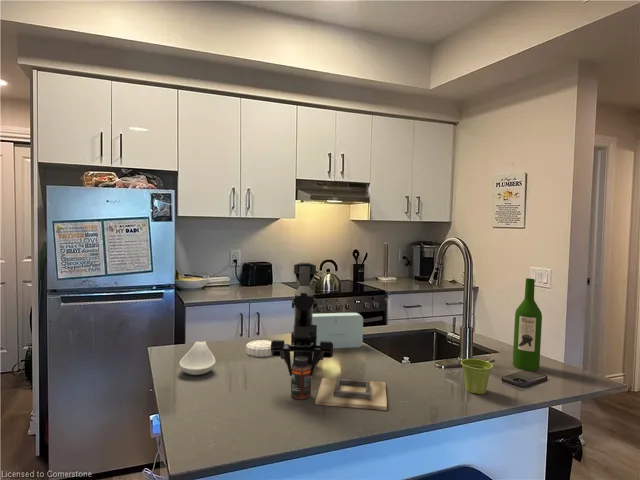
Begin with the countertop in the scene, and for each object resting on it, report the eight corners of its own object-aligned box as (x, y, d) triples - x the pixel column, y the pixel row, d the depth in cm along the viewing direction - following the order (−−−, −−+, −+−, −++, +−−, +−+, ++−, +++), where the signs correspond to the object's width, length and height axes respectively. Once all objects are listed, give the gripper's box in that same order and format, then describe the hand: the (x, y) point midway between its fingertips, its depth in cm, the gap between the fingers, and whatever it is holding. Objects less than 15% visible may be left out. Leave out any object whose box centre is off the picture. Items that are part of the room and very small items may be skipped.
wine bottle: (513, 368, 155) (517, 279, 154) (512, 361, 164) (516, 276, 162) (540, 372, 152) (545, 281, 150) (538, 364, 160) (542, 278, 159)
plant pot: (476, 399, 128) (477, 370, 127) (453, 387, 136) (454, 360, 135) (498, 394, 132) (499, 366, 131) (474, 383, 140) (475, 357, 140)
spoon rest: (215, 378, 139) (215, 356, 139) (177, 380, 137) (177, 358, 136) (216, 355, 162) (216, 336, 162) (184, 356, 160) (184, 337, 159)
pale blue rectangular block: (307, 350, 171) (308, 317, 170) (304, 345, 176) (305, 313, 176) (362, 347, 176) (363, 315, 176) (358, 343, 182) (359, 312, 181)
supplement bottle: (313, 393, 128) (314, 356, 128) (306, 401, 123) (307, 362, 122) (295, 390, 130) (296, 353, 130) (287, 398, 125) (288, 359, 124)
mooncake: (266, 359, 159) (266, 349, 159) (239, 354, 164) (239, 345, 164) (282, 350, 170) (282, 341, 170) (257, 346, 175) (257, 337, 175)
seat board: (315, 404, 121) (315, 395, 121) (322, 380, 139) (322, 373, 139) (386, 410, 119) (387, 401, 118) (385, 385, 136) (385, 377, 136)
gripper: (272, 313, 129) (267, 362, 119) (333, 315, 129) (334, 363, 119) (273, 332, 137) (269, 379, 127) (332, 334, 138) (332, 380, 127)
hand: (300, 375), depth 125 cm, fingers closed on supplement bottle, 6 cm apart
